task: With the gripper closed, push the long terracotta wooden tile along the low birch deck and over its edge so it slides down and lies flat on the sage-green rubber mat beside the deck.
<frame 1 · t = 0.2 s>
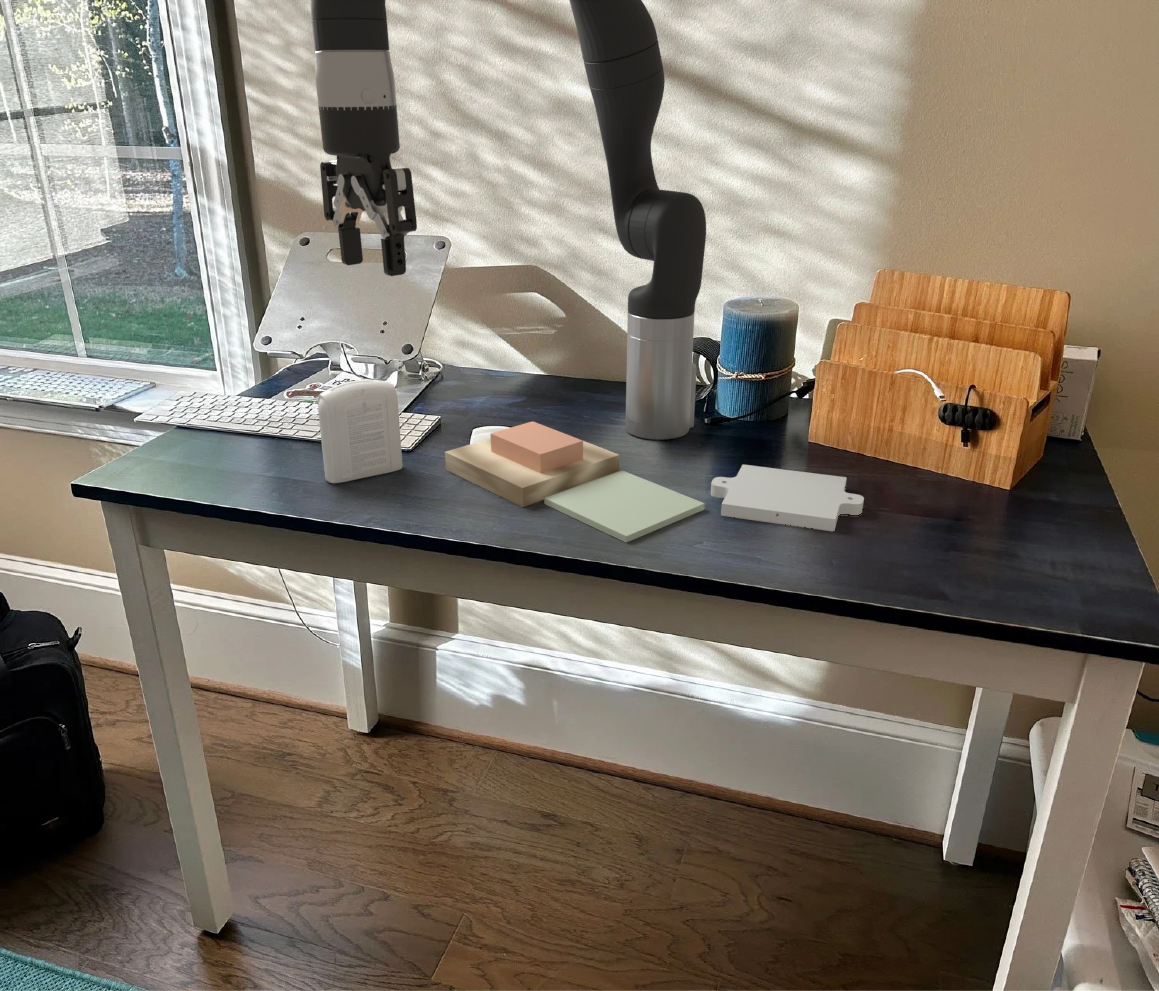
hand: (373, 269, 100), 29 cm above the table, tool pointing down, fingers open, 8 cm apart
mat: (623, 506, 114), on the table
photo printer: (365, 475, 124), on the table
deck: (532, 471, 124), on the table
tile: (536, 455, 122), point 2 cm above the table, touching deck
mounting plate: (784, 506, 115), on the table
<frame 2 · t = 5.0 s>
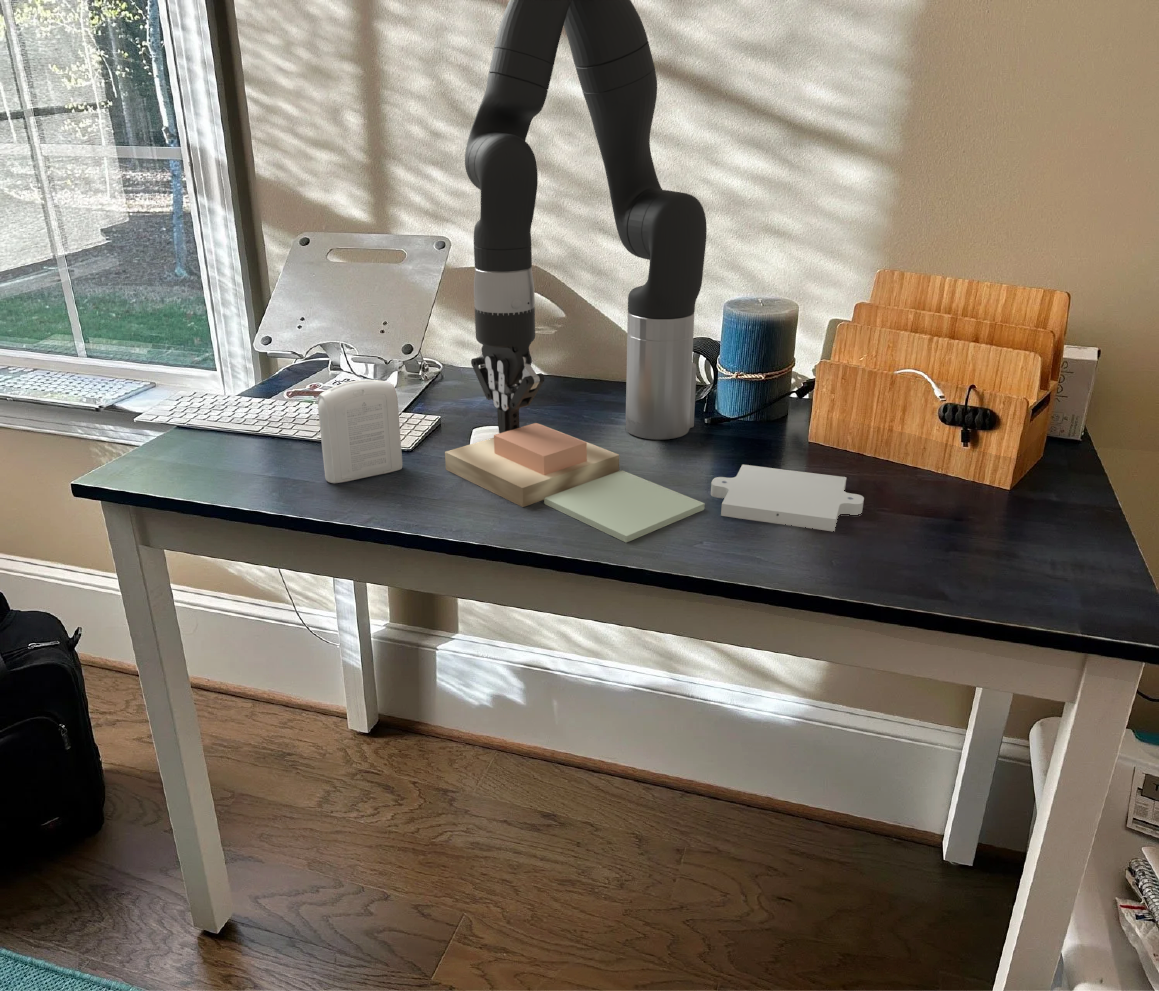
hand: (508, 434, 126), 4 cm above the table, tool pointing down, fingers closed
tile: (540, 457, 122), point 3 cm above the table, touching deck, gripper
everything else where it was.
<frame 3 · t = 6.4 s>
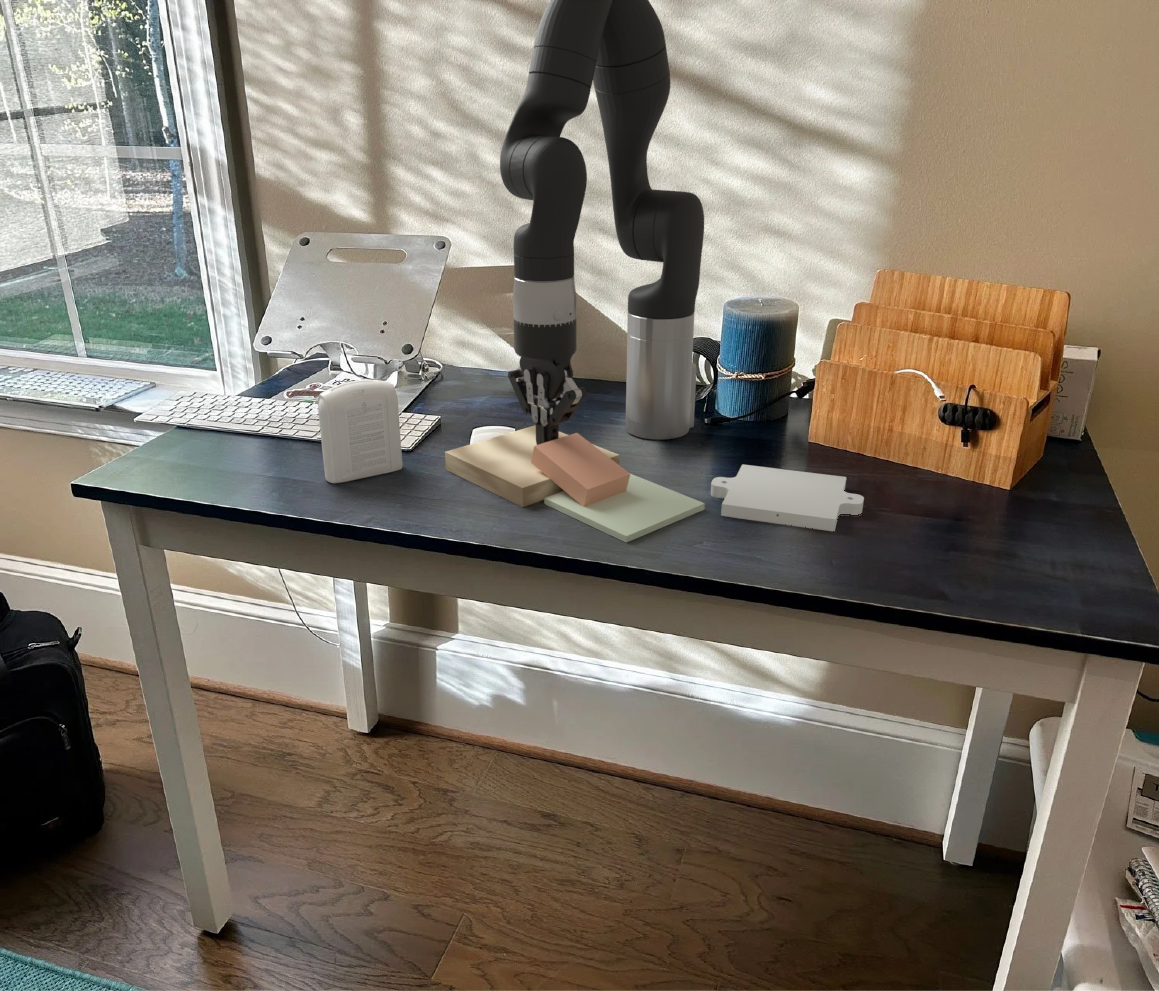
hand: (547, 450, 120), 4 cm above the table, tool pointing down, fingers closed
tile: (578, 476, 117), point 2 cm above the table, tilted 16°, touching gripper, mat
everything else where it was.
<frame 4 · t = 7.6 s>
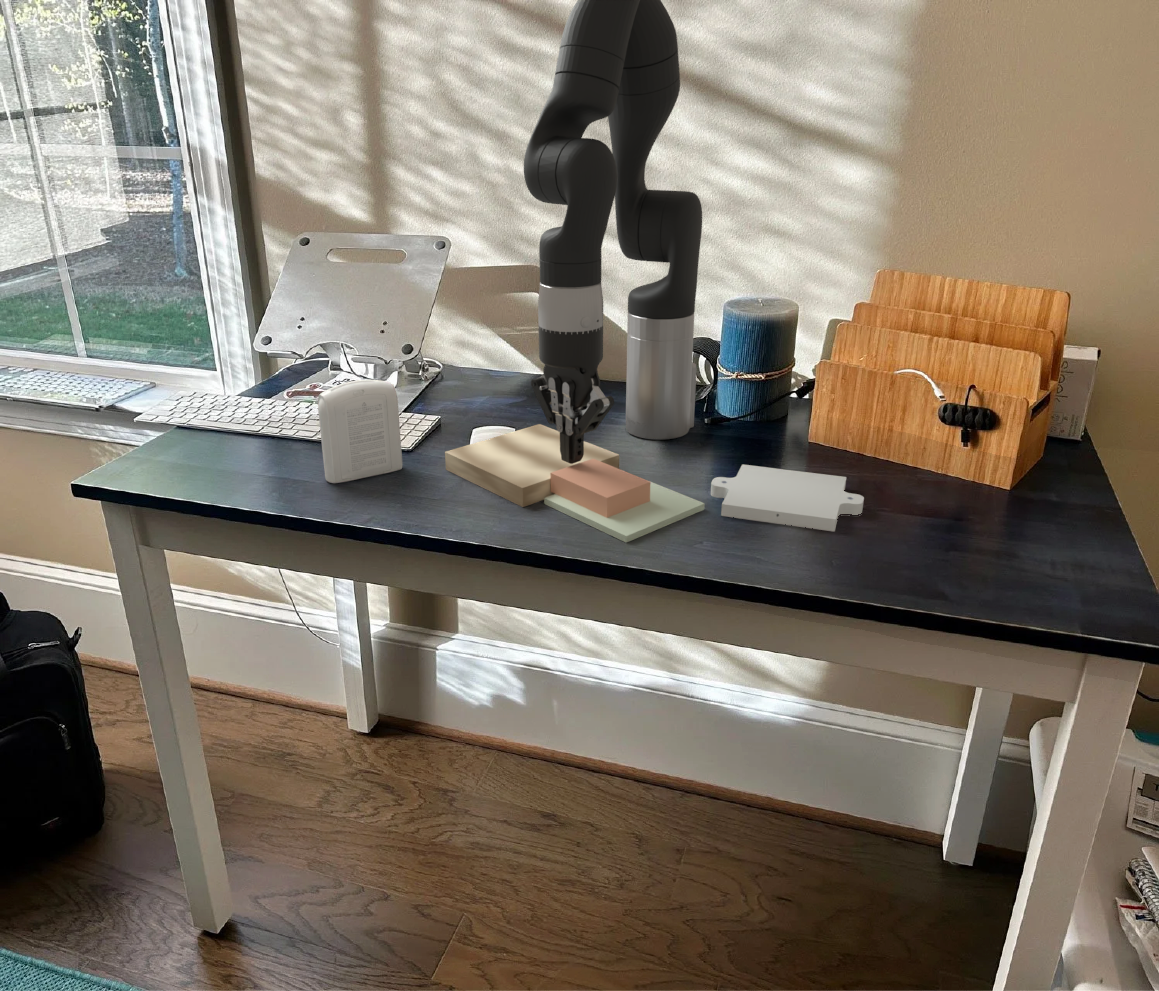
hand: (571, 460, 117), 4 cm above the table, tool pointing down, fingers closed
tile: (599, 496, 115), point 1 cm above the table, touching mat
everything else where it was.
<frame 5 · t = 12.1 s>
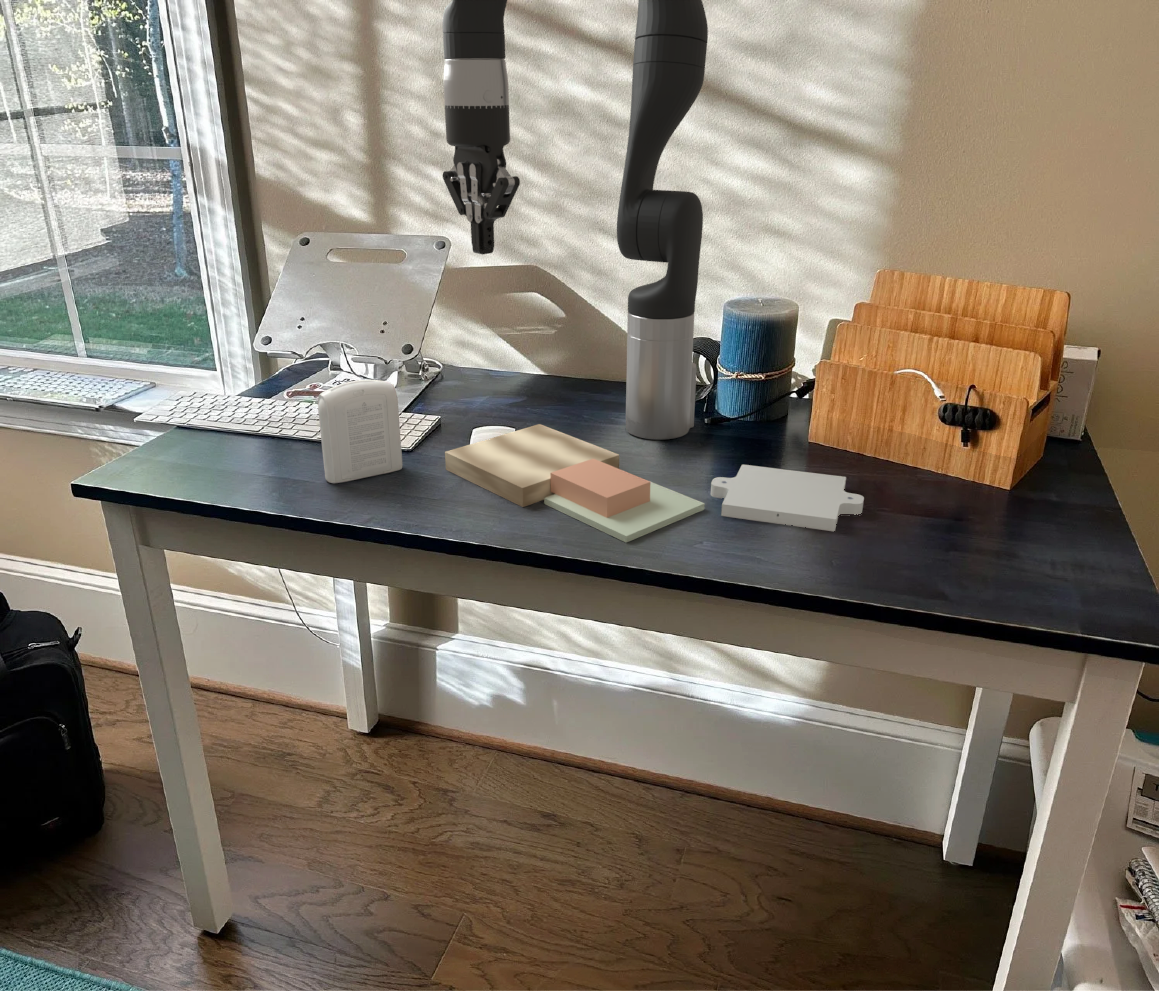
hand: (483, 252, 118), 27 cm above the table, tool pointing down, fingers closed
nothing on the table moved.
at the end: tile inside the target area (3.1 cm from its centre), point 0.8 cm above the table; tile tilted 0° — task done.
